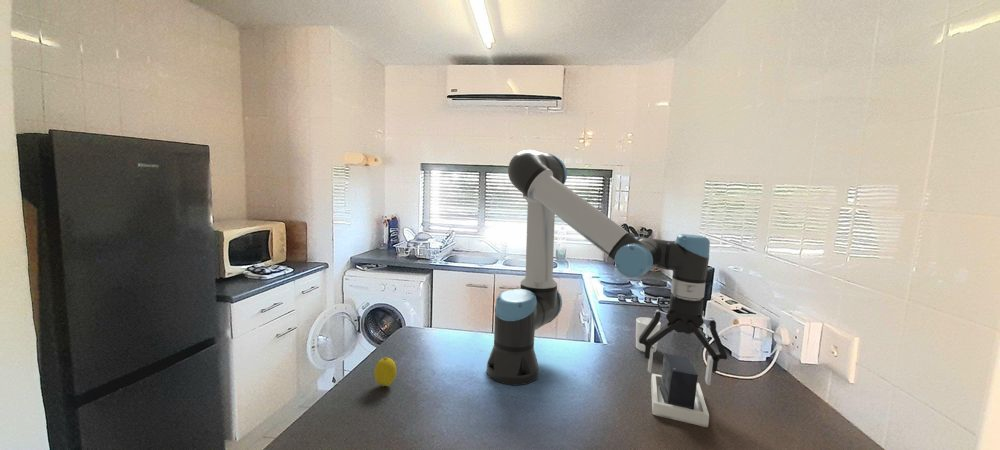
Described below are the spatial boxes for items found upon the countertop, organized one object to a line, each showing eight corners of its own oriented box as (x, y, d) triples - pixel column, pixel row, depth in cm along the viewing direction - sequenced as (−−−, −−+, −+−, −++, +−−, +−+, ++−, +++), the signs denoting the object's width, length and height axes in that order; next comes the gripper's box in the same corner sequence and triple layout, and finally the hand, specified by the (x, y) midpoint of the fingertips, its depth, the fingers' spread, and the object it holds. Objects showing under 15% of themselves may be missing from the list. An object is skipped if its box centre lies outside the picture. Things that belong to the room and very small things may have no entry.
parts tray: (652, 414, 91) (653, 402, 90) (650, 383, 105) (651, 373, 105) (707, 427, 86) (709, 415, 86) (698, 393, 101) (699, 382, 101)
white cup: (661, 354, 125) (664, 325, 124) (638, 353, 125) (641, 324, 124) (652, 344, 133) (655, 317, 132) (630, 343, 133) (633, 316, 132)
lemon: (370, 386, 98) (370, 357, 97) (389, 378, 102) (389, 350, 101) (381, 394, 94) (381, 364, 93) (400, 386, 98) (400, 357, 97)
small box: (695, 415, 90) (699, 374, 89) (666, 410, 92) (670, 370, 90) (684, 392, 100) (688, 355, 99) (659, 388, 102) (662, 352, 101)
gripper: (634, 292, 94) (626, 371, 96) (748, 309, 85) (737, 395, 88) (634, 285, 101) (627, 359, 103) (740, 300, 92) (730, 380, 95)
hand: (677, 376), depth 95 cm, fingers open, 13 cm apart
